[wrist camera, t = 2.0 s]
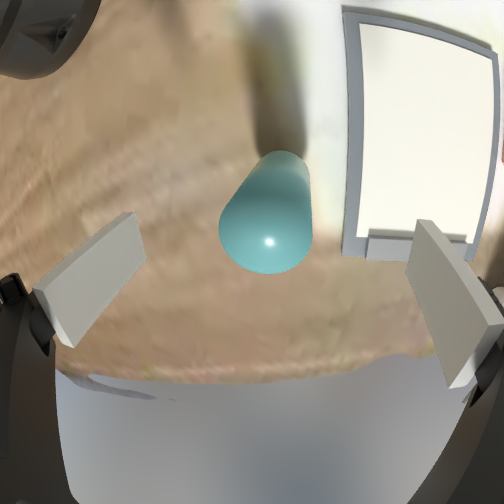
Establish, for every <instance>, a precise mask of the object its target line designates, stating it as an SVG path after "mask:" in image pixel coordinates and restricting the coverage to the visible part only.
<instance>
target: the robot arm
mask: <svg viewBox="0 0 504 504" xmlns="http://www.w3.org/2000/svg"><path fill="white" fill-rule="evenodd" d="M99 4H100V0H0V74H1V75H5V76H9V77H13V78H17V79H21V80H28V79H35V78H42V77H45V76H48V75H50V74H51V73H53V72H55V71H56V70H57V69H59V68H60V67H61V66H62V65H63V64H64V63H65V62H66V61H67V60H68V59H69V58H70V57H71V55H72V54H73V53H74V52H75V50H76V49H77V48H78V46H79V45H80V43H81V42H82V40H83V38H84V37H85V35H86V33H87V32H88V30H89V28H90V26H91V24H92V22H93V20H94V17H95V15H96V12H97V10H98V7H99ZM146 261H147V258H146V254H145V250H144V247H143V243H142V239H141V234H140V230H139V226H138V222H137V217H136V213H135V212H124V213H122V214H121V215H119V216H118V217H117V218H115V219H114V220H113V221H111V222H110V223H109V224H107V225H106V226H105V227H103V228H102V229H101V230H99V231H98V232H97V233H95V234H94V235H93V236H92V237H90V238H89V239H88V240H87V241H85V242H84V243H83V244H82V245H80V246H79V247H78V248H77V249H75V250H74V251H73V252H72V253H71V254H69V255H68V256H67V257H66V258H65V259H63V260H62V261H61V262H60V263H59V264H58V265H57V266H55V267H54V268H53V269H52V270H51V271H50V272H49V273H47V274H46V275H45V276H44V277H43V278H42V279H41V280H40V281H39V282H38V283H37V284H35V285H34V286H33V287H32V289H33V291H32V292H31V293H30V294H29V295H28V293H27V291H26V289H25V287H24V284H23V282H22V280H21V278H20V276H19V274H18V273H12V274H9V275H7V276H5V277H4V278H2V279H1V280H0V299H1V301H2V302H3V304H2V303H1V301H0V504H79V503H78V502H77V501H76V500H75V499H74V497H73V496H72V494H71V492H70V489H69V485H68V481H67V476H66V471H65V467H64V461H63V456H62V450H61V443H60V436H59V428H58V418H57V407H56V388H55V348H56V345H55V341H54V339H53V338H52V337H53V335H54V334H55V333H56V334H57V336H58V337H59V339H60V340H61V342H62V344H65V345H67V346H70V347H73V348H75V347H76V345H77V344H78V343H79V341H80V340H81V339H82V337H83V336H84V335H85V333H86V332H87V331H88V330H89V328H90V327H91V326H92V325H93V323H94V322H95V321H96V320H97V318H98V317H99V316H100V315H101V313H102V312H103V311H104V310H105V308H106V307H107V306H108V305H109V304H110V302H111V301H112V300H113V299H114V297H115V296H116V295H117V294H118V293H119V292H120V290H121V289H122V288H123V287H124V286H125V284H126V283H127V282H128V281H129V280H130V279H131V278H132V276H133V275H134V274H135V273H136V272H137V271H138V270H139V268H140V267H141V266H142V265H143V264H144V263H145V262H146ZM405 273H406V275H407V277H408V280H409V282H410V284H411V286H412V289H413V291H414V293H415V295H416V298H417V300H418V303H419V305H420V307H421V310H422V312H423V315H424V317H425V320H426V323H427V325H428V328H429V331H430V333H431V336H432V339H433V342H434V345H435V348H436V350H437V353H438V356H439V360H440V363H441V366H442V369H443V372H444V376H445V379H446V382H447V386H448V388H455V387H461V386H466V385H467V384H468V382H469V381H470V380H471V378H472V377H473V376H474V374H475V376H476V379H477V381H478V382H477V384H476V385H475V386H474V388H473V389H472V390H471V391H470V392H469V394H468V395H467V396H466V397H465V399H464V400H463V401H462V402H463V403H465V402H466V401H467V400H468V402H467V404H466V407H465V409H464V411H463V413H462V415H461V417H460V419H459V422H458V423H457V425H456V427H455V430H454V431H453V433H452V435H451V437H450V439H449V441H448V443H447V444H446V446H445V448H444V450H443V451H442V453H441V455H440V457H439V458H438V460H437V462H436V463H435V465H434V466H433V468H432V470H431V471H430V473H429V474H428V476H427V477H426V479H425V480H424V481H423V483H422V484H421V486H420V487H419V489H418V490H417V491H416V493H415V494H414V495H413V497H412V498H411V499H410V501H409V502H408V503H407V504H504V307H503V306H502V304H501V303H499V300H498V298H497V297H496V296H495V295H494V292H493V291H492V289H491V288H490V286H489V285H488V284H487V283H486V282H485V281H483V280H482V279H481V278H480V277H477V276H476V275H475V273H474V272H473V271H472V269H471V268H470V267H469V265H468V264H467V263H466V261H465V260H464V259H463V257H462V256H461V255H460V253H459V252H458V251H457V250H456V248H455V247H454V246H453V245H452V243H451V242H450V241H449V240H448V239H447V237H446V236H445V235H444V234H443V233H442V232H441V230H440V229H439V228H438V227H437V226H436V225H435V223H434V222H433V221H432V220H425V219H417V222H416V227H415V232H414V237H413V242H412V246H411V251H410V255H409V259H408V264H407V268H406V271H405Z"/></svg>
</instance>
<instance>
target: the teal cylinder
mask: <svg viewBox="0 0 504 504" xmlns="http://www.w3.org/2000/svg"><path fill="white" fill-rule="evenodd" d="M219 237H220V240H221V243H222V246H223V248H224V249H225V251H226V253H227V254H228V255H229V256H230V258H231V259H233V260H234V261H235V262H236V263H237V264H239V265H240V266H242V267H244V268H246V269H248V270H250V271H253V272H257V273H263V274H275V273H280V272H284V271H287V270H289V269H291V268H293V267H295V266H296V265H297V264H299V263H300V262H301V261H302V260H303V259H304V257H305V256H306V255H307V253H308V251H309V249H310V246H311V243H312V211H311V191H310V175H309V170H308V168H307V166H306V164H305V162H304V161H303V160H302V159H301V158H300V157H299V156H297V155H296V154H294V153H292V152H289V151H282V150H280V151H273V152H270V153H268V154H266V155H265V156H263V157H262V158H261V159H260V160H259V162H258V163H257V164H256V166H255V167H254V168H253V170H252V171H251V172H250V174H249V175H248V176H247V178H246V179H245V181H244V182H243V183H242V185H241V186H240V187H239V189H238V190H237V192H236V193H235V194H234V196H233V197H232V199H231V200H230V201H229V203H228V204H227V206H226V207H225V209H224V210H223V212H222V214H221V217H220V221H219Z"/></svg>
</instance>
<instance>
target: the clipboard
mask: <svg viewBox="0 0 504 504" xmlns="http://www.w3.org/2000/svg"><path fill="white" fill-rule="evenodd" d="M343 22H344V32H345V44H346V57H347V75H348V112H349V130H348V168H347V188H346V203H345V216H344V227H343V237H342V247H341V254H342V256H352V257H365V258H366V260H381V261H408V259H409V255H410V251H411V246H412V242H413V237H414V232H415V227H416V222H417V219H425V220H432V221H433V222H434V223H435V225H436V226H437V227H438V228H439V229H440V230H441V232H442V233H443V234H444V235H445V236H446V237H447V239H448V240H449V241H450V242H451V243H452V245H453V246H454V247H455V248H456V250H457V251H458V252H459V253H460V255H461V256H462V257H463V259H464V260H465V261H473V260H474V257H475V254H476V251H477V248H478V244H479V241H480V238H481V234H482V230H483V227H484V223H485V219H486V215H487V211H488V206H489V202H490V197H491V192H492V186H493V181H494V175H495V168H496V160H497V152H498V142H499V128H500V78H499V64H498V54H497V53H495V52H493V51H491V50H489V49H487V48H485V47H482V46H480V45H478V44H475V43H473V42H470V41H468V40H465V39H463V38H460V37H457V36H454V35H452V34H449V33H446V32H443V31H439V30H436V29H433V28H430V27H426V26H422V25H419V24H415V23H411V22H406V21H402V20H397V19H393V18H387V17H382V16H376V15H369V14H362V13H354V12H344V13H343Z"/></svg>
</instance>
